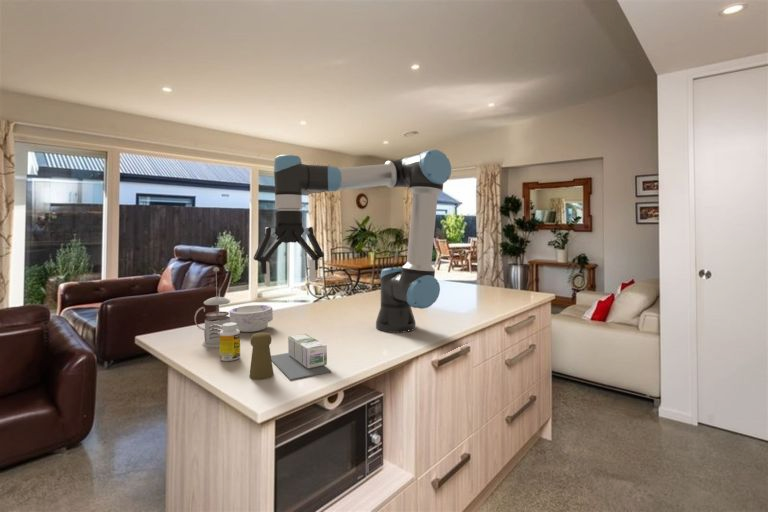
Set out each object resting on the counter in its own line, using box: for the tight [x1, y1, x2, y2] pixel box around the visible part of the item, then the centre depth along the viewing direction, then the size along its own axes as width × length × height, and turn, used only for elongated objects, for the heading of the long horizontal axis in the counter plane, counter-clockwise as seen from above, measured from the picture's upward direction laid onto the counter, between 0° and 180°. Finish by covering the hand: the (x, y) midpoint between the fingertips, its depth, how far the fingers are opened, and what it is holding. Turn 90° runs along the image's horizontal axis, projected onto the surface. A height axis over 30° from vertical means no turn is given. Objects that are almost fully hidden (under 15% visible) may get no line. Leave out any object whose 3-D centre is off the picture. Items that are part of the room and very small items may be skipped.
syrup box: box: [287, 333, 328, 368], centre depth 111 cm, size 6×6×14 cm
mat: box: [271, 352, 332, 382], centre depth 108 cm, size 20×11×1 cm, turn 32°
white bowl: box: [228, 304, 274, 333], centre depth 145 cm, size 15×15×8 cm
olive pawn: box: [249, 331, 275, 381], centre depth 100 cm, size 6×6×11 cm
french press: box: [194, 266, 231, 348], centre depth 127 cm, size 10×12×25 cm
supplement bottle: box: [219, 322, 241, 362], centre depth 113 cm, size 6×6×10 cm
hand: (290, 283), depth 114 cm, fingers open, 13 cm apart
